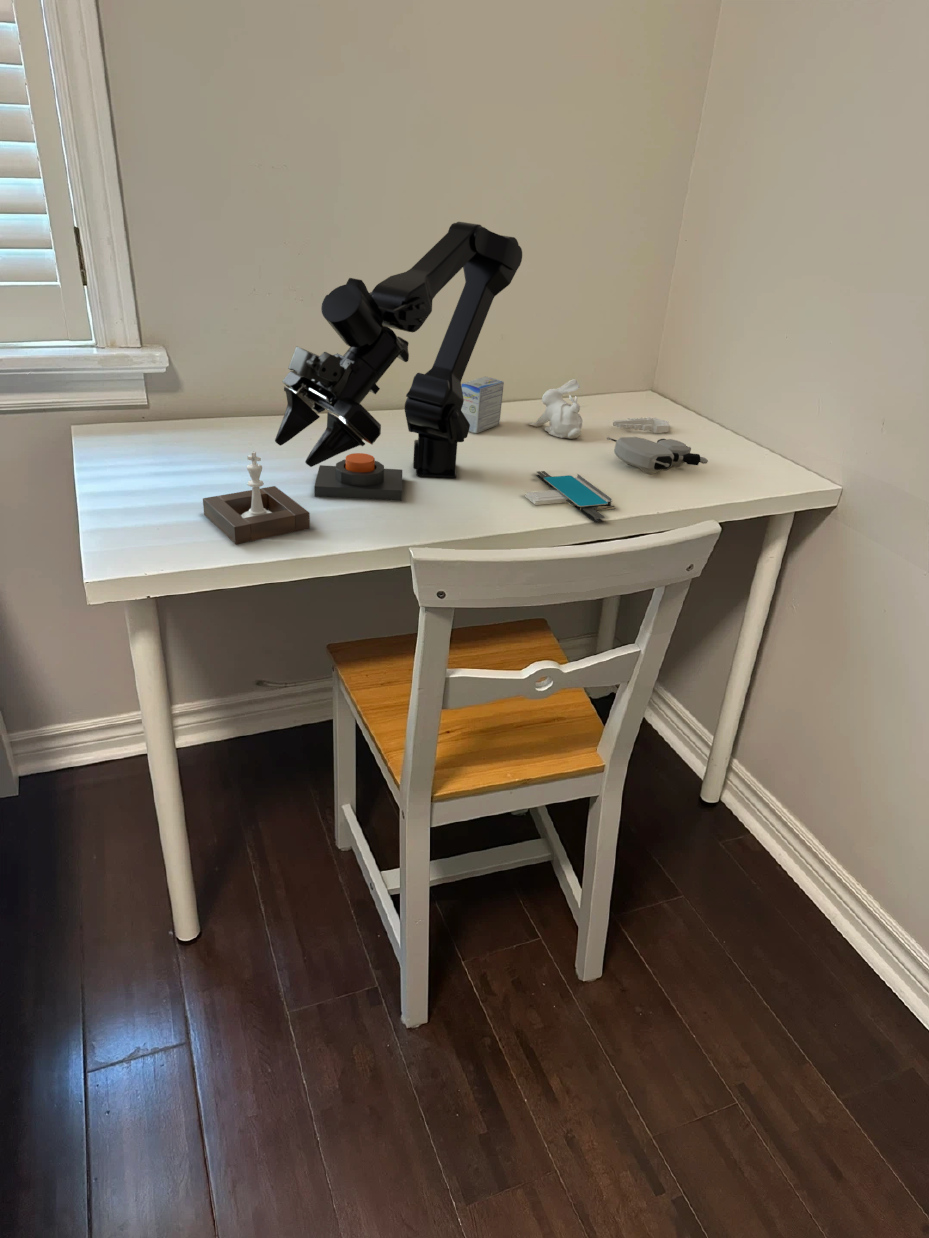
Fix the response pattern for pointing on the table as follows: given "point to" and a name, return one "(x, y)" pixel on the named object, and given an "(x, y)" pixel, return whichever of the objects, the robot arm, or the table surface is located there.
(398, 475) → the push button base
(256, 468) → the chess piece
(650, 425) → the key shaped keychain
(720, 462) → the table surface
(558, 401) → the rabbit figurine
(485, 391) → the medicine box
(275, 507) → the frame
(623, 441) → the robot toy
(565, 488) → the phone stand
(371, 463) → the orange push button
